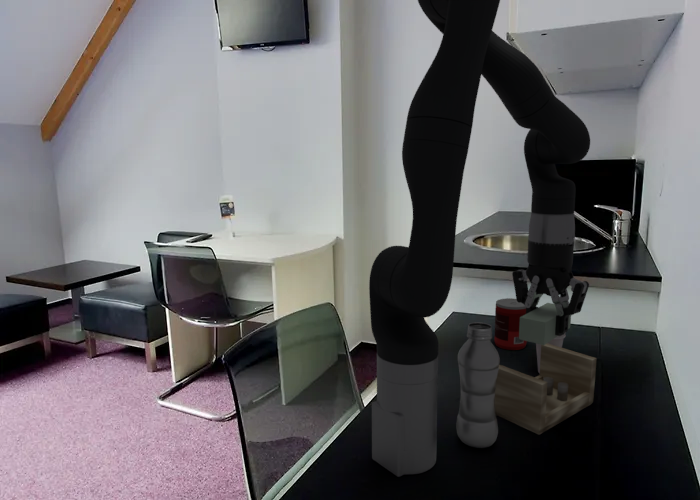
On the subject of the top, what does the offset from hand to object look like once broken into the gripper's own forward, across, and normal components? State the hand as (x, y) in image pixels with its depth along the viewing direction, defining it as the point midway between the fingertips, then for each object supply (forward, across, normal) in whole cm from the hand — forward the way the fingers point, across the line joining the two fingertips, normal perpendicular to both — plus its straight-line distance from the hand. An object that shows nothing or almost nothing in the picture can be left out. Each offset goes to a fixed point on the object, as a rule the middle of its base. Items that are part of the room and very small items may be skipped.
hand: (546, 330), depth 92 cm
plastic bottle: (+15, 0, -19) cm, 24 cm away
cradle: (+15, 0, 0) cm, 15 cm away
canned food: (+15, -23, +23) cm, 36 cm away
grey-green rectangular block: (0, 0, 0) cm, 1 cm away
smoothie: (+15, -8, +15) cm, 23 cm away
